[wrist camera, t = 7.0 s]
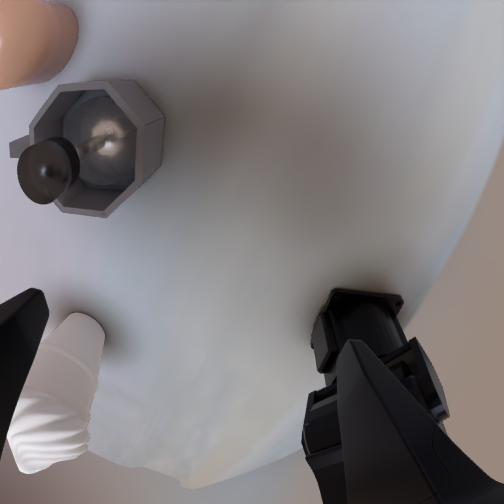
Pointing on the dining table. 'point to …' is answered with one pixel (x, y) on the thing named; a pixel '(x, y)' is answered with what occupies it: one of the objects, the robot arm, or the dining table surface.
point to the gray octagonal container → (147, 141)
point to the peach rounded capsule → (34, 41)
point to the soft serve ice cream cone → (58, 396)
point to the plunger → (80, 152)
